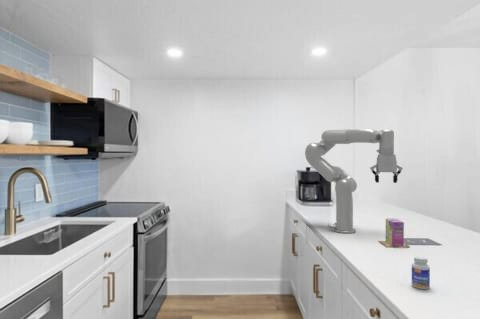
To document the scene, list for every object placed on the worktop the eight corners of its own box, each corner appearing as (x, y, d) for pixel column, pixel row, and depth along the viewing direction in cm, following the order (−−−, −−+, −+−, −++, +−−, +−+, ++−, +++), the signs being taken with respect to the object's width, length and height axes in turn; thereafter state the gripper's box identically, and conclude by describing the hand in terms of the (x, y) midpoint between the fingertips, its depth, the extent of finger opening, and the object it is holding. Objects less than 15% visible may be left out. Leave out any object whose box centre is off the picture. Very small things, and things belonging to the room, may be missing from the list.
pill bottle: (412, 288, 114) (412, 259, 114) (410, 282, 119) (410, 254, 119) (431, 290, 112) (431, 260, 112) (428, 284, 117) (428, 256, 117)
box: (404, 246, 166) (404, 222, 166) (391, 245, 167) (391, 221, 167) (396, 241, 176) (396, 218, 176) (385, 240, 177) (385, 218, 177)
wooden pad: (386, 247, 166) (386, 246, 166) (378, 242, 177) (378, 240, 177) (409, 247, 166) (409, 246, 166) (400, 242, 177) (400, 241, 177)
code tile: (405, 244, 171) (405, 244, 171) (394, 238, 185) (394, 238, 185) (442, 245, 171) (442, 244, 171) (428, 238, 185) (428, 238, 185)
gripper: (372, 151, 188) (372, 182, 188) (405, 151, 186) (404, 183, 186) (368, 151, 195) (368, 181, 195) (399, 152, 194) (399, 182, 194)
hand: (386, 182), depth 191 cm, fingers open, 9 cm apart
